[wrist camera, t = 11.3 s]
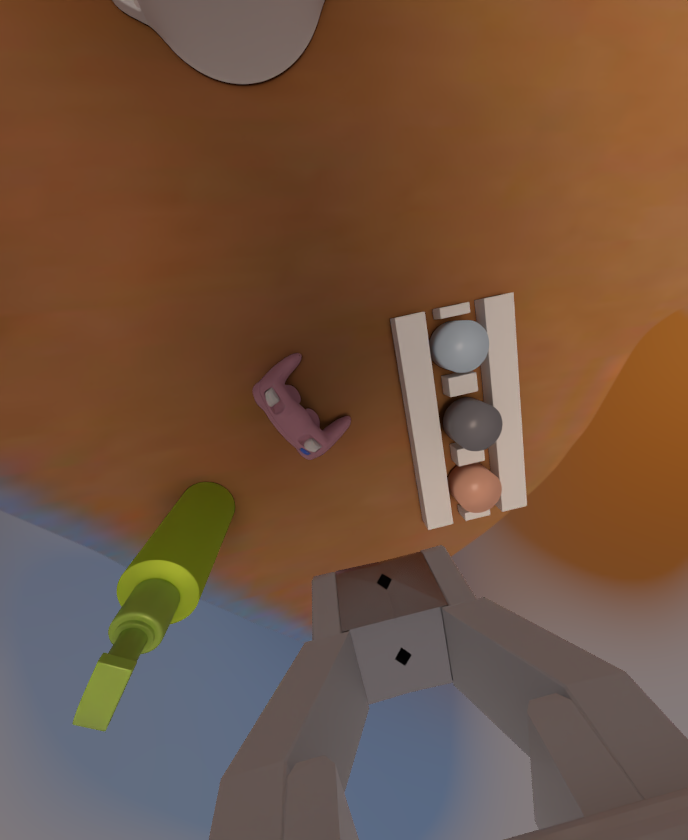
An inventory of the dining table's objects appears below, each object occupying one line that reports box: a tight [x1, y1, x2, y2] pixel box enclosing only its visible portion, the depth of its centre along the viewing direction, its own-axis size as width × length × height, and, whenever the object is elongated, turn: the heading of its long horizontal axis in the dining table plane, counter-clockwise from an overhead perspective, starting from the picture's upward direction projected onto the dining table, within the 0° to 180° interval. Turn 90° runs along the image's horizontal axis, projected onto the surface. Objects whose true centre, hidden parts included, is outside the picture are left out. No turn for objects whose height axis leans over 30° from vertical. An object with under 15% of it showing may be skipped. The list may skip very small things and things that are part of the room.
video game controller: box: [253, 353, 351, 460], centre depth 34 cm, size 10×5×7 cm, turn 37°
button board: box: [390, 292, 527, 530], centre depth 37 cm, size 24×12×2 cm, turn 12°
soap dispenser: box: [73, 482, 235, 731], centre depth 28 cm, size 6×7×20 cm
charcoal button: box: [443, 397, 503, 451], centre depth 35 cm, size 5×5×3 cm
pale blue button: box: [429, 320, 489, 373], centre depth 34 cm, size 5×5×3 cm
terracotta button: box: [447, 462, 502, 513], centre depth 39 cm, size 5×5×3 cm
